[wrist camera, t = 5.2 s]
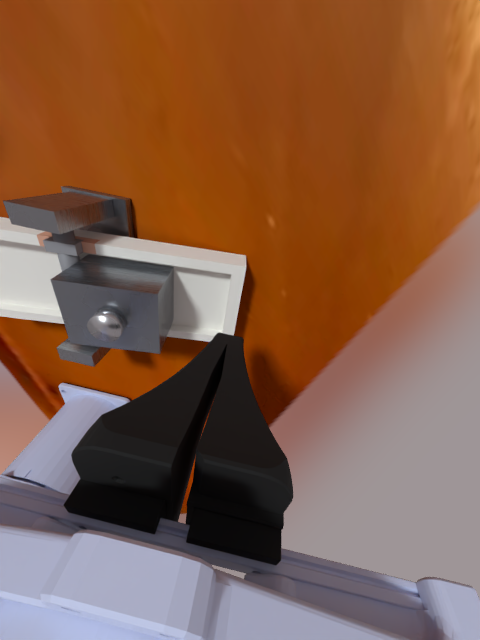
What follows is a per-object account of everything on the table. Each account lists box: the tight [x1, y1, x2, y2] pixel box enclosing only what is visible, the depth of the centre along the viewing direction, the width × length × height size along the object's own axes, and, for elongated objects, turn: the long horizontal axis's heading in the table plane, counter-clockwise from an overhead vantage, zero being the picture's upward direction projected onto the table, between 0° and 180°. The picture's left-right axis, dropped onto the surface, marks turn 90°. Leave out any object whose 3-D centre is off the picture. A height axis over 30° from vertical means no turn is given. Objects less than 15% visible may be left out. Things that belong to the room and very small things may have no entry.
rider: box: [50, 254, 174, 354], centre depth 14 cm, size 4×5×4 cm
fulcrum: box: [3, 186, 134, 367], centre depth 15 cm, size 10×4×5 cm, turn 171°
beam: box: [0, 217, 246, 342], centre depth 15 cm, size 7×20×2 cm, turn 81°
